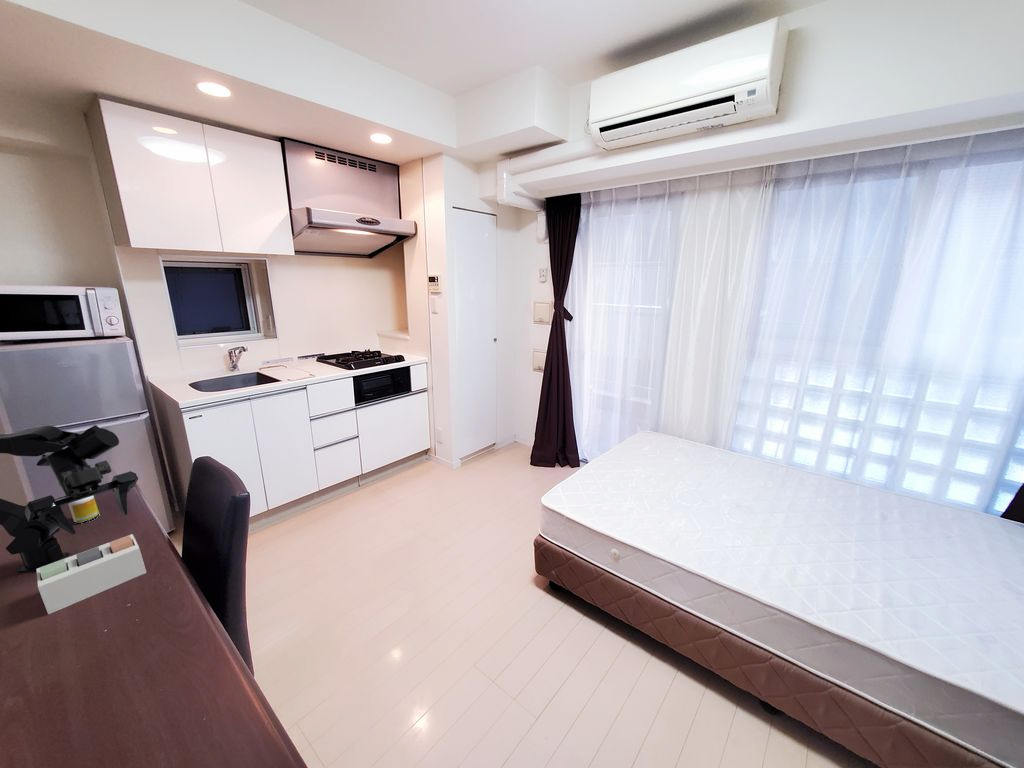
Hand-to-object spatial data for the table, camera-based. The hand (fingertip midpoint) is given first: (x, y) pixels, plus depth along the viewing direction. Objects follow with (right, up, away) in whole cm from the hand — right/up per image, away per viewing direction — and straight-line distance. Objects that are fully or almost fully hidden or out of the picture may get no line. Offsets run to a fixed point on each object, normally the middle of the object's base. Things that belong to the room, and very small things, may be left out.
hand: (101, 523), depth 95 cm
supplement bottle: (-30, -7, +24) cm, 39 cm away
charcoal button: (+1, -8, -3) cm, 9 cm away
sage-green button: (-2, -9, -7) cm, 12 cm away
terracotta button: (+5, -7, +1) cm, 8 cm away
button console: (+1, -13, -2) cm, 14 cm away
